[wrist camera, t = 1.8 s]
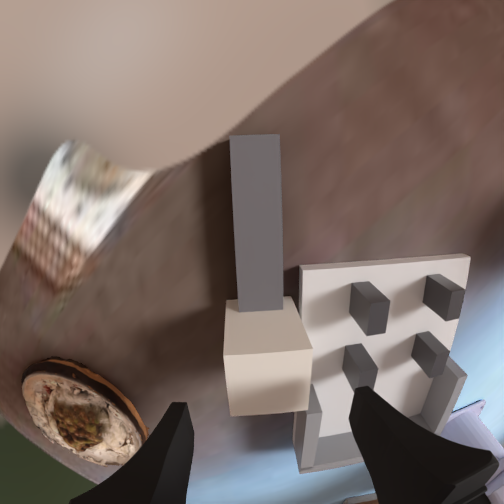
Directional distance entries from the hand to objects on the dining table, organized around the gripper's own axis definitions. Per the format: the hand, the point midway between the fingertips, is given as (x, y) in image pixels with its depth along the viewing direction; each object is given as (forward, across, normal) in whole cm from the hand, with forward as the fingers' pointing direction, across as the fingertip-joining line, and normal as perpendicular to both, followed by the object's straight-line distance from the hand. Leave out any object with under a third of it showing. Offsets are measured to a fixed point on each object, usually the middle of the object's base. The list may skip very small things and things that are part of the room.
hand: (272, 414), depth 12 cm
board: (+8, -9, +4) cm, 13 cm away
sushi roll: (+9, +16, +9) cm, 20 cm away
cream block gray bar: (+8, 0, -5) cm, 9 cm away
